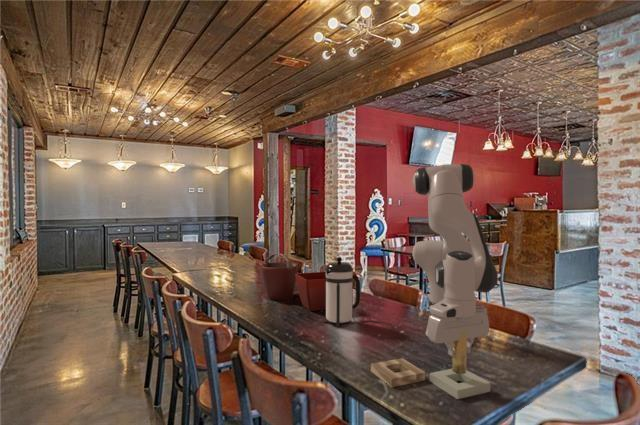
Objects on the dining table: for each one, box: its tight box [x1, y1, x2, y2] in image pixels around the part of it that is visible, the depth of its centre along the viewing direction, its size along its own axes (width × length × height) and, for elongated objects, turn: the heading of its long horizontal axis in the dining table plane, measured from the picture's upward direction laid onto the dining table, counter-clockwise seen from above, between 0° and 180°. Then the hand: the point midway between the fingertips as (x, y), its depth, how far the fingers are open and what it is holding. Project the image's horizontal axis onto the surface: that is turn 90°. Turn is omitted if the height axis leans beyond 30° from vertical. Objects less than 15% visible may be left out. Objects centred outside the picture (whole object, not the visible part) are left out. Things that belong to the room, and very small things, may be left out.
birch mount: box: [370, 357, 426, 388], centre depth 123 cm, size 12×12×2 cm
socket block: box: [429, 368, 491, 400], centre depth 116 cm, size 12×12×2 cm
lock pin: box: [451, 332, 468, 374], centre depth 116 cm, size 4×4×12 cm
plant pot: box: [295, 271, 326, 312], centre depth 206 cm, size 19×19×17 cm
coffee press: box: [322, 256, 361, 328], centre depth 180 cm, size 17×16×30 cm
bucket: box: [259, 253, 299, 301], centre depth 230 cm, size 24×22×25 cm
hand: (459, 353), depth 116 cm, fingers closed on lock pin, 4 cm apart
